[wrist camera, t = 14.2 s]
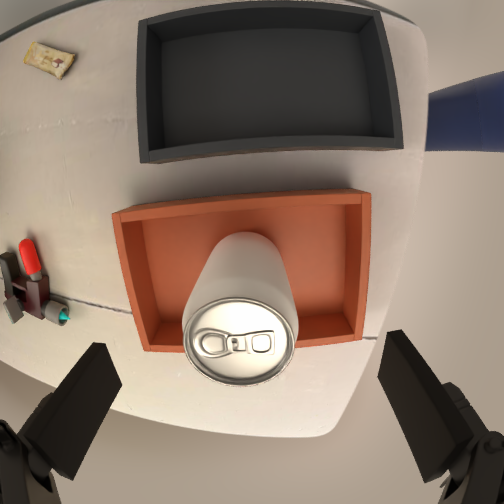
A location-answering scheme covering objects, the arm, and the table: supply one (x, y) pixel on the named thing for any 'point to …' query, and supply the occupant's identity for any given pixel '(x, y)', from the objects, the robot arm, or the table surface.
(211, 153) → the grey bin
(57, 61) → the snack bar
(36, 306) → the toy gun
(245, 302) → the can
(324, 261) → the terracotta bin
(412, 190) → the table surface
